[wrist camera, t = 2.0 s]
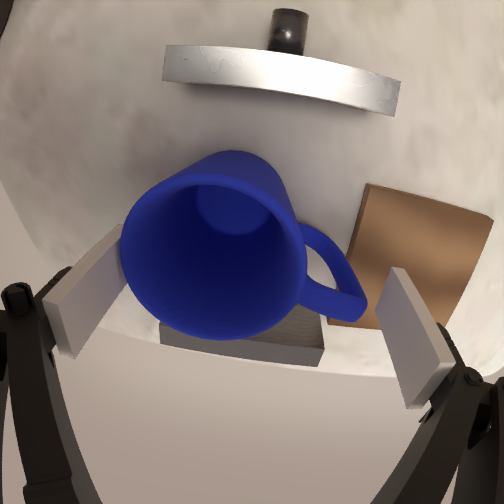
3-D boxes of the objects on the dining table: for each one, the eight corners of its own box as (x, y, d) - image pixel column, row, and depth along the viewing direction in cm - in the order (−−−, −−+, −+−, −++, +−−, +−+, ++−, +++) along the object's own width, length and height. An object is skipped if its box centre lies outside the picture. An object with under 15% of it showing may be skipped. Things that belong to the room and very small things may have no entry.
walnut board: (366, 183, 20) (370, 187, 20) (487, 216, 20) (494, 220, 20) (326, 317, 26) (327, 324, 25) (437, 327, 26) (440, 333, 25)
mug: (311, 280, 25) (325, 379, 16) (167, 224, 23) (109, 304, 14) (362, 189, 21) (418, 260, 12) (200, 120, 19) (140, 144, 11)
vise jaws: (197, 15, 16) (174, -5, 11) (378, 43, 16) (407, 31, 11) (176, 304, 27) (160, 343, 22) (312, 324, 27) (317, 366, 22)
